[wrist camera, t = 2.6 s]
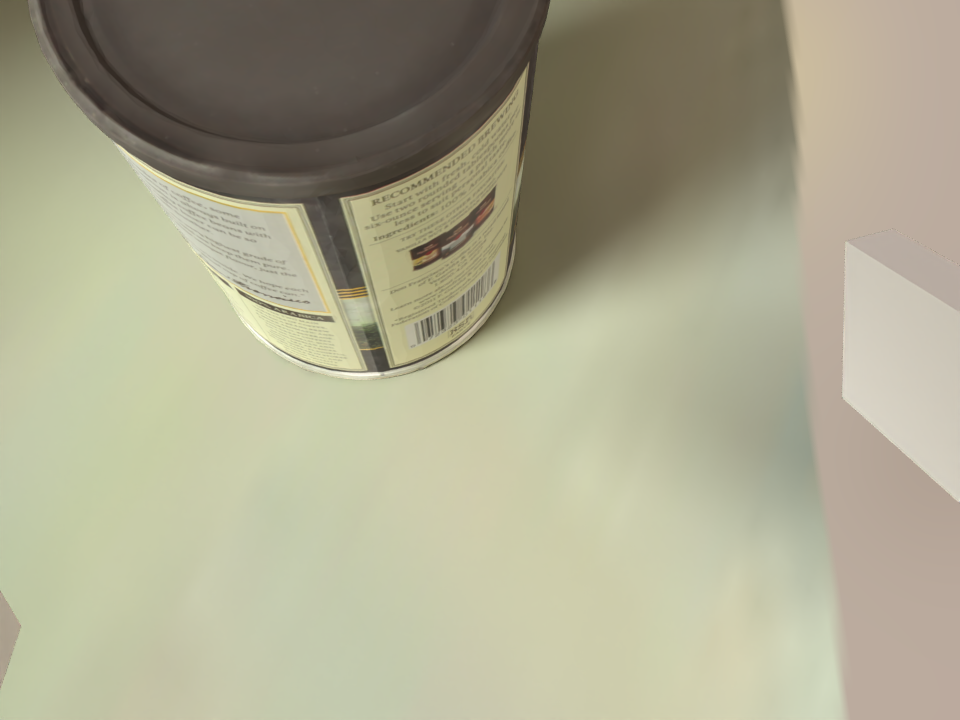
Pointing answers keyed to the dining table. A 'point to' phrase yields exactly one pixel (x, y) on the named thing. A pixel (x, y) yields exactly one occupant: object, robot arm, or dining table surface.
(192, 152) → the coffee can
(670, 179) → the dining table surface
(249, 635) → the dining table surface
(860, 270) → the robot arm
